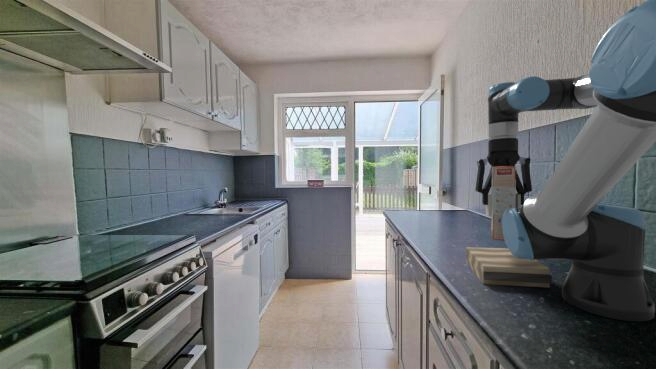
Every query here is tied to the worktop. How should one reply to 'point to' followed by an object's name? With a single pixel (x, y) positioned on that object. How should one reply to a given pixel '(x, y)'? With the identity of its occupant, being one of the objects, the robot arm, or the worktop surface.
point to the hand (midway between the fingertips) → (502, 215)
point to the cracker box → (502, 197)
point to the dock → (506, 268)
